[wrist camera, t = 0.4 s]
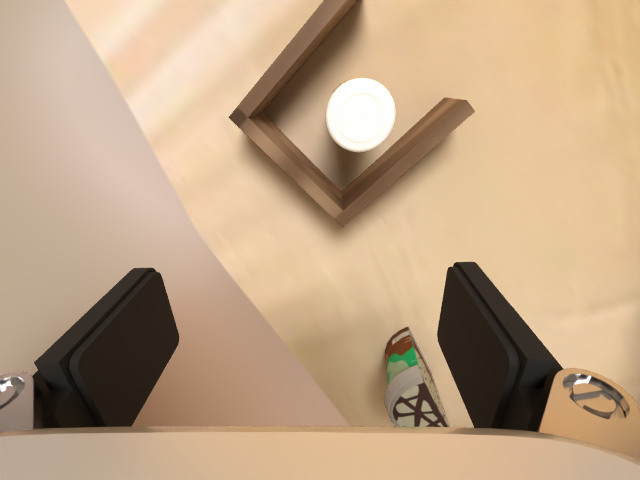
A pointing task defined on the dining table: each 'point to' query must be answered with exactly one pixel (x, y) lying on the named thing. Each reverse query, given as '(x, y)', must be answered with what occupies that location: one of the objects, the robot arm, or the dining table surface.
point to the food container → (411, 385)
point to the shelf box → (298, 165)
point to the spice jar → (360, 114)
